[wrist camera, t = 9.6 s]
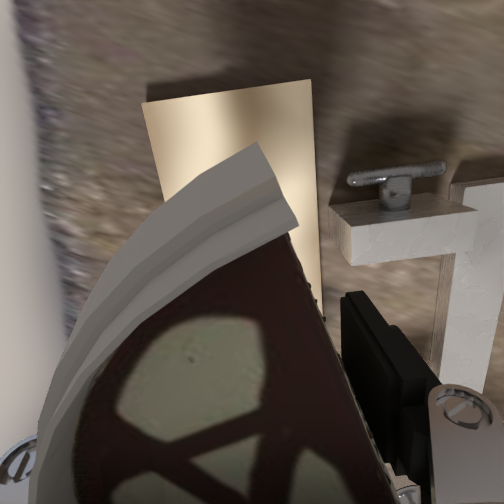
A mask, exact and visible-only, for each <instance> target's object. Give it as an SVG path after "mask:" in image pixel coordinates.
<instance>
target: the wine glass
mask: <svg viewBox="0 0 504 504" xmlns="http://www.w3.org/2000/svg"><path fill="white" fill-rule="evenodd" d="M396 492H397V494H398V496H399V499H400V501H401V503H402V504H419V503H418V485H414V486H409V487H405V488H402V489H399V490H397V491H396Z"/></svg>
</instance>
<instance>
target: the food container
mask: <svg viewBox="0 0 504 504" xmlns="http://www.w3.org/2000/svg"><path fill="white" fill-rule="evenodd" d="M298 226H299V223H298V221H297V218H296V216H295V214H294V213H293V211H292V209H291V208H290V206H289V204H288V203H287V201H286V199H285V198H284V196H283V193H282V190H281V188H280V185H279V183H278V180H277V178H276V175H275V174H274V172H273V170H272V168H271V166H270V164H269V162H268V161H267V159H266V157H265V155H264V153H263V151H262V150H261V148H260V146H259V144H258V142H257V141H256V142H255V143H253V144H251V145H249V146H248V147H246V148H244V149H243V150H241V151H239V152H237V153H236V154H234V155H232V156H231V157H229V158H227V159H225V160H224V161H222V162H220V163H218V164H217V165H215V166H213V167H212V168H210V169H208V170H206V171H205V172H203V173H201V174H199V175H198V176H197V177H196V178H194V179H193V180H192V181H191V182H189V183H188V184H187V185H186V186H185V187H183V188H182V189H181V190H180V191H178V192H177V193H176V194H175V195H173V196H172V197H171V198H170V199H169V200H167V201H166V202H165V203H164V204H162V205H161V206H160V207H159V208H157V209H156V210H155V211H154V212H153V213H151V214H150V215H149V216H148V217H147V218H146V219H145V220H144V222H143V223H142V224H141V225H140V226H139V227H138V228H137V230H136V231H135V232H134V233H133V234H132V235H131V237H130V238H129V239H128V240H127V241H126V242H125V243H124V245H123V246H122V247H121V248H120V249H119V250H118V252H117V253H116V254H115V255H114V256H113V257H112V258H111V260H110V261H109V263H108V264H107V266H106V268H105V270H104V271H103V273H102V275H101V277H100V278H99V280H98V282H97V283H96V285H95V287H94V289H93V290H92V292H91V294H90V295H89V297H88V299H87V301H86V302H85V304H84V306H83V308H82V311H81V313H80V315H79V317H78V320H77V322H76V324H75V327H74V329H73V331H72V333H71V336H70V338H69V340H68V343H67V345H66V347H65V349H64V352H63V354H62V356H61V359H60V361H59V363H58V365H57V368H56V370H55V372H54V375H53V378H52V381H51V385H50V387H49V391H48V394H47V397H46V400H45V403H44V406H43V409H42V412H41V415H40V418H39V421H38V432H37V445H36V459H35V463H34V466H33V469H32V472H31V475H30V478H29V492H28V504H402V503H401V501H400V499H399V496H398V494H397V492H396V489H395V487H394V485H393V482H392V480H391V478H390V475H389V473H388V471H387V468H386V466H385V464H384V462H383V460H382V458H381V456H380V453H379V451H378V449H377V446H376V444H375V442H374V439H373V434H372V433H371V431H370V430H369V427H368V425H367V422H366V420H365V418H364V415H363V413H362V410H361V408H360V406H359V403H358V401H357V397H356V396H355V394H354V390H353V387H352V386H351V384H350V382H349V380H348V377H347V375H346V372H345V369H344V365H343V361H342V359H341V357H340V355H339V354H338V353H337V351H336V349H335V347H334V344H333V342H332V340H331V337H330V335H329V332H328V330H327V327H326V325H325V321H326V317H323V316H322V314H321V312H320V310H319V308H318V305H317V302H318V301H317V299H315V298H314V296H313V293H312V291H311V284H310V283H309V282H308V281H307V279H306V276H305V274H304V272H303V267H302V265H301V262H300V261H299V259H298V257H297V254H296V252H295V250H294V247H293V245H292V242H291V238H290V235H289V233H288V232H289V231H291V230H293V229H294V228H296V227H298Z"/></svg>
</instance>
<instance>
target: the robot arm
mask: <svg viewBox="0 0 504 504" xmlns="http://www.w3.org/2000/svg"><path fill="white" fill-rule="evenodd" d="M340 310H341V356H342V361H343V365H344V369H345V372H346V375H347V377H348V379H349V382H350V384H351V386H352V387H353V390H354V394H355V396H356V397H357V401H358V403H359V406H360V408H361V410H362V413H363V415H364V418H365V420H366V422H367V425H368V427H369V430H370V431H371V433H372V434H373V439H374V442H375V444H376V446H377V449H378V451H379V453H380V456H381V458H382V460H383V462H384V463H390V464H391V466H392V469H393V471H394V473H395V476H401V475H407V476H408V479H409V480H411V481H412V482H414V483H416V484H417V485H418V503H419V504H504V423H503V420H502V417H501V415H500V413H499V411H498V409H497V407H496V406H495V405H494V404H493V403H492V402H491V401H490V400H489V399H488V398H486V397H485V396H484V395H482V394H481V393H479V392H477V391H475V390H473V389H471V388H468V387H465V386H461V385H457V384H442V383H441V382H440V380H439V379H438V378H437V376H436V375H435V374H434V373H433V371H432V370H431V369H430V367H429V366H428V365H427V364H426V362H425V361H424V360H423V358H422V357H421V356H420V354H419V353H418V352H417V351H416V349H415V348H414V347H413V345H412V344H411V343H410V342H409V340H408V339H407V338H406V336H405V335H404V334H403V333H402V331H401V330H400V329H399V328H398V327H397V326H395V325H390V326H389V325H388V324H387V322H386V321H385V319H384V318H383V317H382V315H381V314H380V313H379V311H378V310H377V309H376V307H375V306H374V305H373V303H372V302H371V300H370V299H369V298H368V296H367V295H366V294H365V292H364V291H354V292H346V294H345V297H341V299H340ZM36 445H37V434H35V435H32V436H29V437H27V438H26V439H24V440H22V441H20V442H18V443H17V444H16V445H14V446H13V447H12V448H10V449H9V450H8V451H7V452H6V453H5V454H4V455H3V456H2V457H1V458H0V504H28V492H29V478H30V475H31V472H32V469H33V466H34V463H35V459H36Z"/></svg>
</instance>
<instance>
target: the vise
mask: <svg viewBox="0 0 504 504" xmlns="http://www.w3.org/2000/svg"><path fill="white" fill-rule="evenodd" d="M446 169H447V165H446V163H445V162H444V161H441V160H437V161H430V162H422V163H415V164H407V165H400V166H393V167H385V168H378V169H370V170H363V171H356V172H351V173H350V174H349V175H348V176H347V183H348V185H349V186H351V187H358V186H365V185H373V184H379V199H374V200H366V201H359V202H351V203H344V204H336V205H329V206H328V208H329V236H330V239H331V240H332V241H333V242H334V244H335V245H336V246H337V248H338V249H339V250H340V251H341V253H342V254H343V255H344V257H345V258H346V259H347V261H348V262H349V263H350V264H351V266H355V265H363V264H371V263H379V262H387V261H395V260H403V259H410V258H418V257H426V256H434V255H442V260H441V269H440V277H439V286H438V294H437V303H436V311H435V320H434V328H433V337H432V345H431V354H430V362H429V367H430V369H431V370H432V371H433V373H434V374H435V375H436V376H437V378H438V379H439V380H440V382H441V383H442V384H457V385H461V386H465V387H468V388H471V389H473V390H475V391H477V392H479V393H481V394H482V392H483V387H484V383H485V378H486V373H487V368H488V364H489V359H490V354H491V349H492V345H493V340H494V335H495V331H496V326H497V321H498V316H499V312H500V307H501V302H502V298H503V293H504V177H497V178H489V179H482V180H474V181H467V182H459V183H452V184H450V192H449V200H448V199H446V198H443V197H440V196H437V195H434V194H432V193H429V192H427V193H419V194H411V192H412V179H418V178H425V177H433V176H439V175H442V174H443V173H444V172H445V171H446Z"/></svg>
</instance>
